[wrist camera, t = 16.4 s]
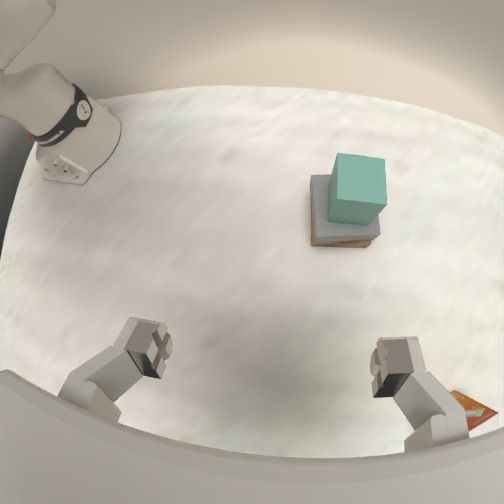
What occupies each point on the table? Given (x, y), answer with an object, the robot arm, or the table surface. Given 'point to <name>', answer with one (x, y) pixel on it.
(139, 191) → the table surface
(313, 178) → the tower top
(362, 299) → the table surface
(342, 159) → the teal block
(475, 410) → the small box
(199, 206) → the table surface
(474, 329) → the table surface
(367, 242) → the tower base
